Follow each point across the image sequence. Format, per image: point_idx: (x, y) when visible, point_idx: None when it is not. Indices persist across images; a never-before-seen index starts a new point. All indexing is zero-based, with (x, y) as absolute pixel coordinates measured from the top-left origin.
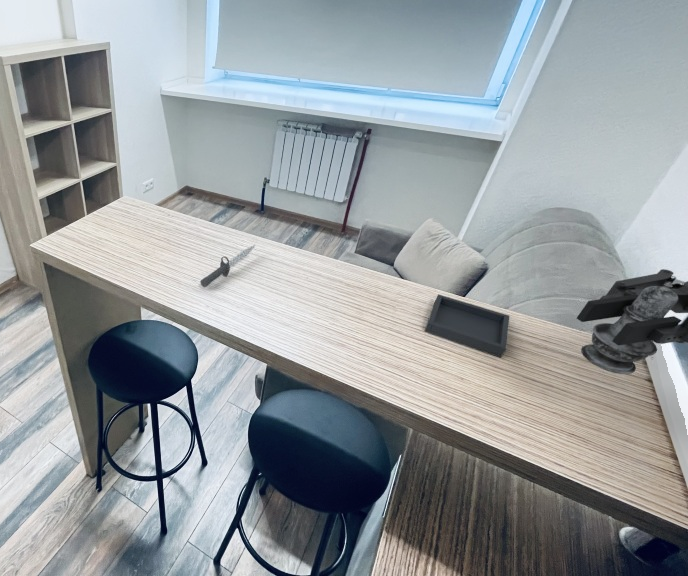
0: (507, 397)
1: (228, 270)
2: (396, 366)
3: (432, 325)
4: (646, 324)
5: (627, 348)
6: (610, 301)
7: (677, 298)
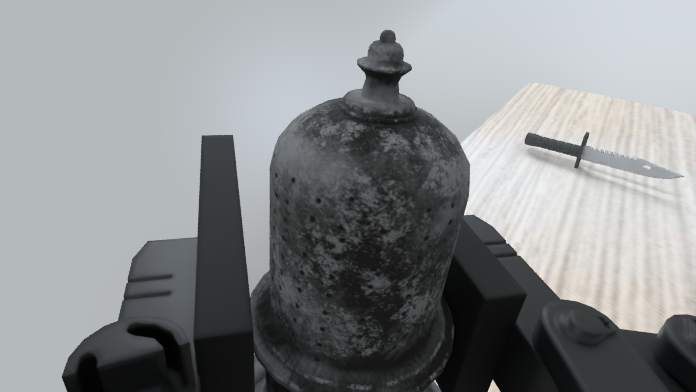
0: None
1: (577, 155)
2: None
3: None
4: (208, 172)
5: None
6: None
7: (295, 163)
